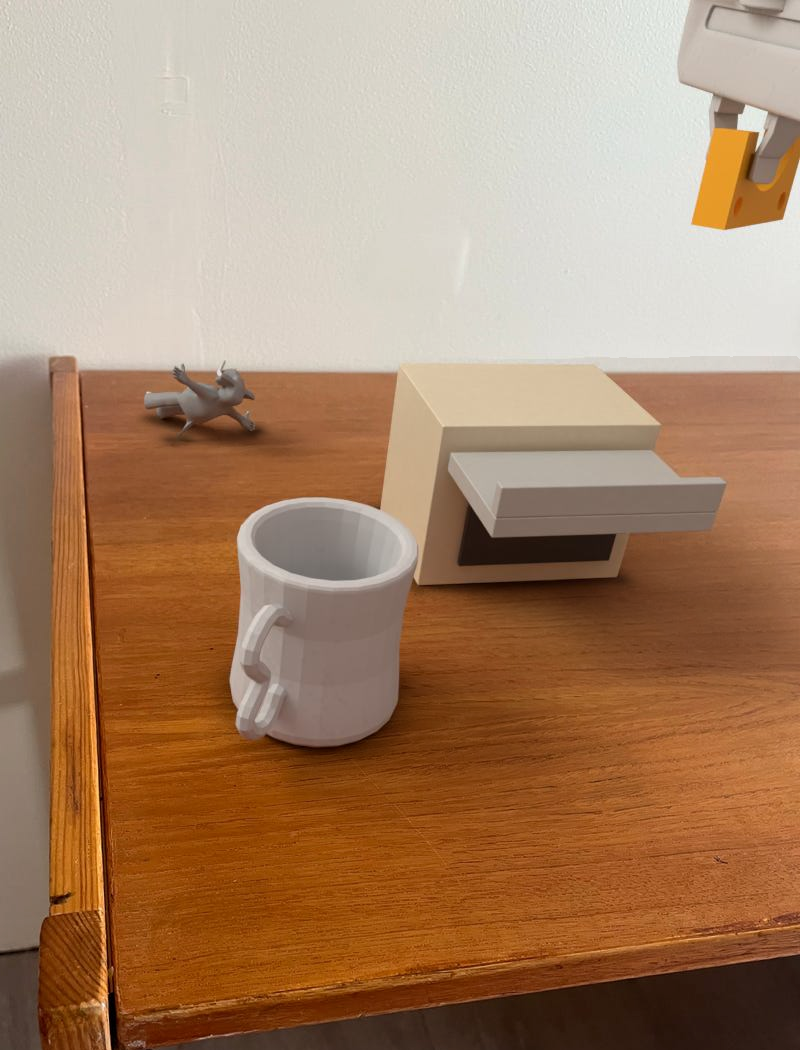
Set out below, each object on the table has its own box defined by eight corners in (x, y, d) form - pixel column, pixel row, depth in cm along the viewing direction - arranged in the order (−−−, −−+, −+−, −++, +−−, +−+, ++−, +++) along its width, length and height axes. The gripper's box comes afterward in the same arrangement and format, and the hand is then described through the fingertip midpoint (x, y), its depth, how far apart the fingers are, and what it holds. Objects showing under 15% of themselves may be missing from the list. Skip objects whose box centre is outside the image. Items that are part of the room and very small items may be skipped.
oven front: (560, 506, 77) (596, 358, 70) (677, 652, 62) (736, 482, 56) (379, 510, 74) (399, 356, 68) (457, 665, 60) (492, 487, 53)
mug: (281, 631, 61) (292, 478, 55) (422, 684, 58) (450, 528, 52) (159, 749, 52) (157, 580, 46) (320, 819, 49) (340, 648, 43)
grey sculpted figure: (200, 400, 88) (285, 391, 83) (185, 466, 87) (269, 461, 82) (118, 343, 80) (206, 329, 75) (100, 414, 79) (188, 405, 74)
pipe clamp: (731, 211, 86) (753, 125, 83) (782, 219, 84) (807, 131, 80) (669, 220, 78) (690, 125, 75) (724, 230, 76) (749, 132, 72)
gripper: (945, -35, 62) (856, 209, 70) (765, -51, 78) (709, 148, 86) (853, -45, 60) (773, 205, 68) (689, -59, 77) (640, 144, 85)
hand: (736, 173), depth 77 cm, fingers closed on pipe clamp, 4 cm apart
